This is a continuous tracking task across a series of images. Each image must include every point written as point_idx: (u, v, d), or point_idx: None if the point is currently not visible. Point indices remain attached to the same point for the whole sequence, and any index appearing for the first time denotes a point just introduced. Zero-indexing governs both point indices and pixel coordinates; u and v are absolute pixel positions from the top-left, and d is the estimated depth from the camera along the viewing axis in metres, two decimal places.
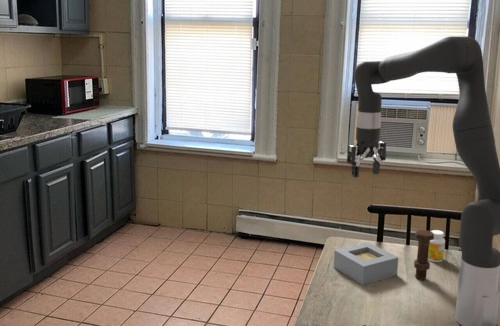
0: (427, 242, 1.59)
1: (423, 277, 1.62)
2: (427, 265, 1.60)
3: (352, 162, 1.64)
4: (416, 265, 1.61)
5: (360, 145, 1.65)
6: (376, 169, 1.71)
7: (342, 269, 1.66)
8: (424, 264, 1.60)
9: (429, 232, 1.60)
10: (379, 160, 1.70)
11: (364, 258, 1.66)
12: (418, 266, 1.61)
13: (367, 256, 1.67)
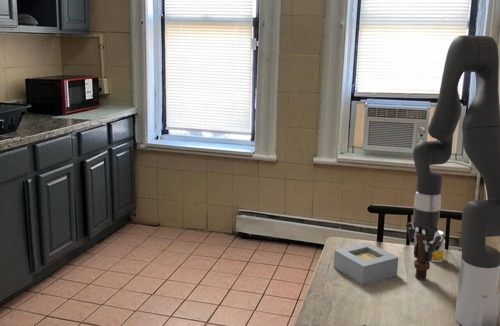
0: None
1: (423, 277, 1.62)
2: (427, 265, 1.60)
3: None
4: (416, 265, 1.61)
5: None
6: None
7: (342, 269, 1.66)
8: (424, 264, 1.60)
9: None
10: None
11: (364, 258, 1.66)
12: (418, 266, 1.61)
13: (367, 256, 1.67)
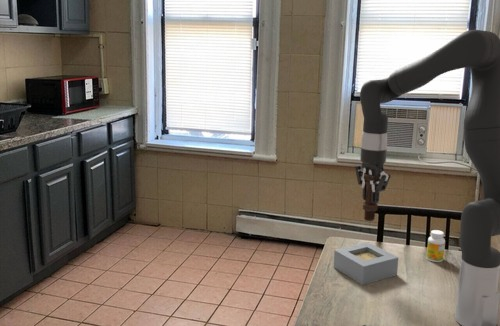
0: None
1: (371, 218, 1.62)
2: (375, 206, 1.61)
3: None
4: (364, 206, 1.62)
5: (383, 169, 1.57)
6: None
7: (342, 269, 1.66)
8: (372, 205, 1.61)
9: None
10: None
11: (364, 258, 1.66)
12: (366, 207, 1.61)
13: (367, 256, 1.67)
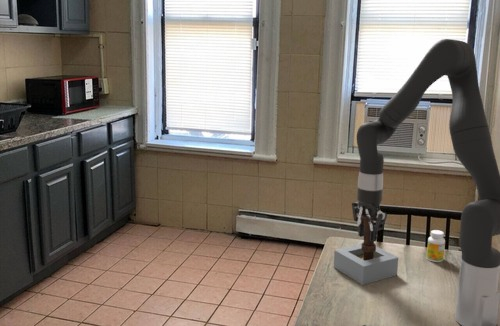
0: None
1: None
2: (373, 247, 1.63)
3: None
4: (363, 247, 1.64)
5: None
6: None
7: (342, 269, 1.66)
8: (370, 246, 1.63)
9: None
10: None
11: None
12: (365, 248, 1.63)
13: None
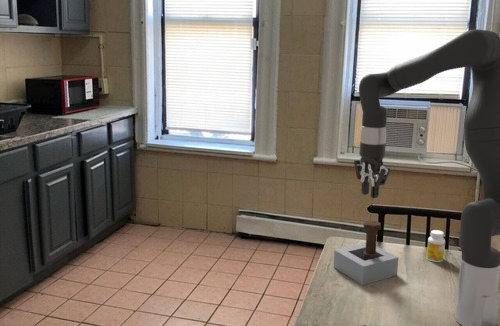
0: (374, 232, 1.62)
1: None
2: (375, 255, 1.63)
3: None
4: (365, 255, 1.64)
5: None
6: (367, 189, 1.63)
7: (342, 269, 1.66)
8: (372, 254, 1.63)
9: (376, 222, 1.63)
10: None
11: None
12: (367, 256, 1.63)
13: None
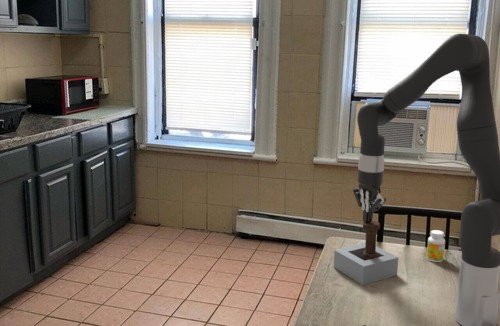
0: (374, 232, 1.62)
1: None
2: (375, 255, 1.63)
3: None
4: (364, 255, 1.64)
5: (380, 191, 1.58)
6: None
7: (342, 269, 1.66)
8: (372, 254, 1.63)
9: (375, 222, 1.63)
10: None
11: None
12: (366, 256, 1.63)
13: None
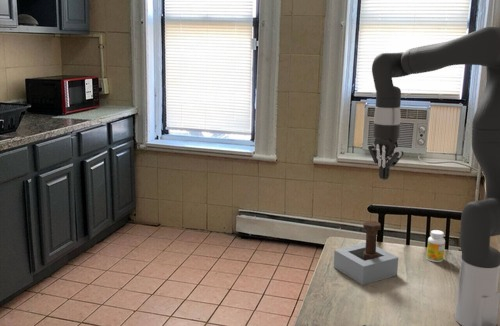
0: (374, 232, 1.62)
1: None
2: (375, 255, 1.63)
3: None
4: (365, 255, 1.64)
5: None
6: None
7: (342, 269, 1.66)
8: (372, 254, 1.63)
9: (376, 222, 1.63)
10: None
11: None
12: (366, 256, 1.63)
13: None
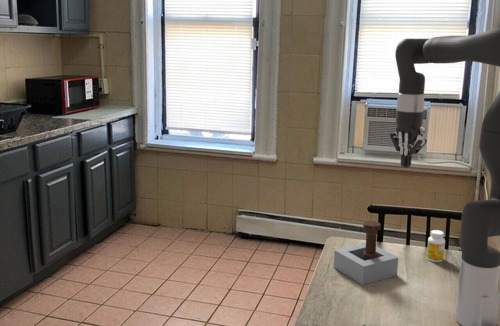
0: (374, 232, 1.62)
1: None
2: (375, 255, 1.63)
3: None
4: (365, 255, 1.64)
5: None
6: None
7: (342, 269, 1.66)
8: (372, 254, 1.63)
9: (376, 222, 1.63)
10: None
11: None
12: (366, 256, 1.63)
13: None
